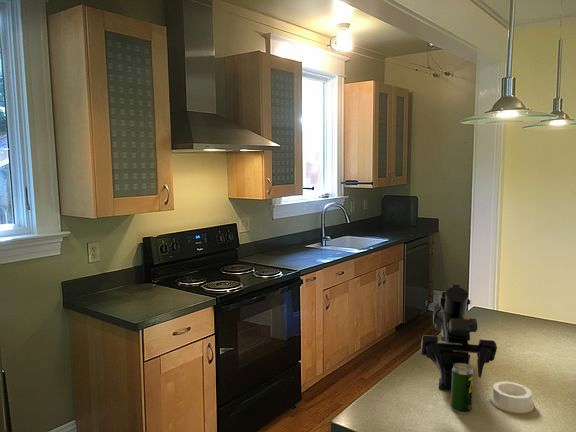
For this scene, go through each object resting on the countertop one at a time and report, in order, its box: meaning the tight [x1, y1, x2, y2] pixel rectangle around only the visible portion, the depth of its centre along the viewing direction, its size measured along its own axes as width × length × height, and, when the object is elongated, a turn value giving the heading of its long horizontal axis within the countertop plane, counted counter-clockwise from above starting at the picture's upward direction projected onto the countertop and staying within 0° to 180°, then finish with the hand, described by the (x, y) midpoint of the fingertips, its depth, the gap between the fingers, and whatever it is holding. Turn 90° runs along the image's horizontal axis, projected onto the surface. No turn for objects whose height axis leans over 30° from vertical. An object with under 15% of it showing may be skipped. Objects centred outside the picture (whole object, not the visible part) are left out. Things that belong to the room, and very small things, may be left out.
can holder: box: [489, 380, 535, 415], centre depth 131 cm, size 11×11×4 cm
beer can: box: [450, 363, 475, 415], centre depth 127 cm, size 5×5×12 cm
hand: (461, 374), depth 121 cm, fingers open, 9 cm apart
